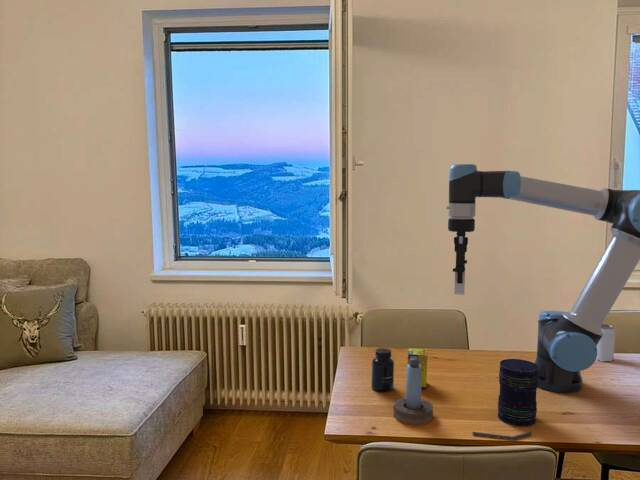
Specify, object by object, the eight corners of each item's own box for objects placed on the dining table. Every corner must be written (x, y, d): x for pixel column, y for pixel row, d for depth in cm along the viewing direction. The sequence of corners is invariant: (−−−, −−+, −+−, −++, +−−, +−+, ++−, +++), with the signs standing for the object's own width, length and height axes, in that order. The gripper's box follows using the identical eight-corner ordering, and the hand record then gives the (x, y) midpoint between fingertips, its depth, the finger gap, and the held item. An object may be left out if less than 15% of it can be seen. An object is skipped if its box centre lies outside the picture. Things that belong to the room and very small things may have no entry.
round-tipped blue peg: (421, 413, 145) (422, 357, 143) (419, 420, 141) (421, 362, 140) (406, 412, 146) (407, 356, 144) (404, 418, 142) (406, 361, 141)
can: (617, 362, 186) (619, 329, 184) (598, 362, 186) (600, 329, 184) (607, 356, 192) (609, 323, 191) (589, 356, 192) (591, 323, 191)
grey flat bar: (531, 434, 134) (531, 432, 134) (533, 442, 129) (533, 440, 129) (472, 427, 137) (472, 425, 137) (472, 435, 133) (472, 432, 133)
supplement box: (426, 389, 162) (427, 355, 160) (406, 388, 163) (407, 354, 162) (426, 382, 167) (427, 349, 166) (407, 381, 169) (408, 347, 167)
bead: (433, 410, 147) (433, 400, 147) (431, 426, 138) (431, 415, 137) (396, 406, 150) (396, 395, 150) (391, 422, 140) (391, 411, 140)
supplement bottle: (388, 394, 158) (388, 355, 157) (367, 389, 162) (368, 351, 161) (397, 386, 164) (397, 349, 163) (377, 382, 168) (377, 345, 166)
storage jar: (493, 409, 148) (495, 358, 146) (530, 411, 147) (532, 359, 145) (502, 426, 138) (504, 371, 136) (541, 428, 137) (544, 372, 135)
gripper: (449, 214, 167) (447, 280, 169) (446, 220, 143) (445, 297, 145) (474, 215, 165) (472, 281, 167) (475, 221, 141) (473, 299, 143)
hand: (459, 289), depth 156 cm, fingers open, 13 cm apart
